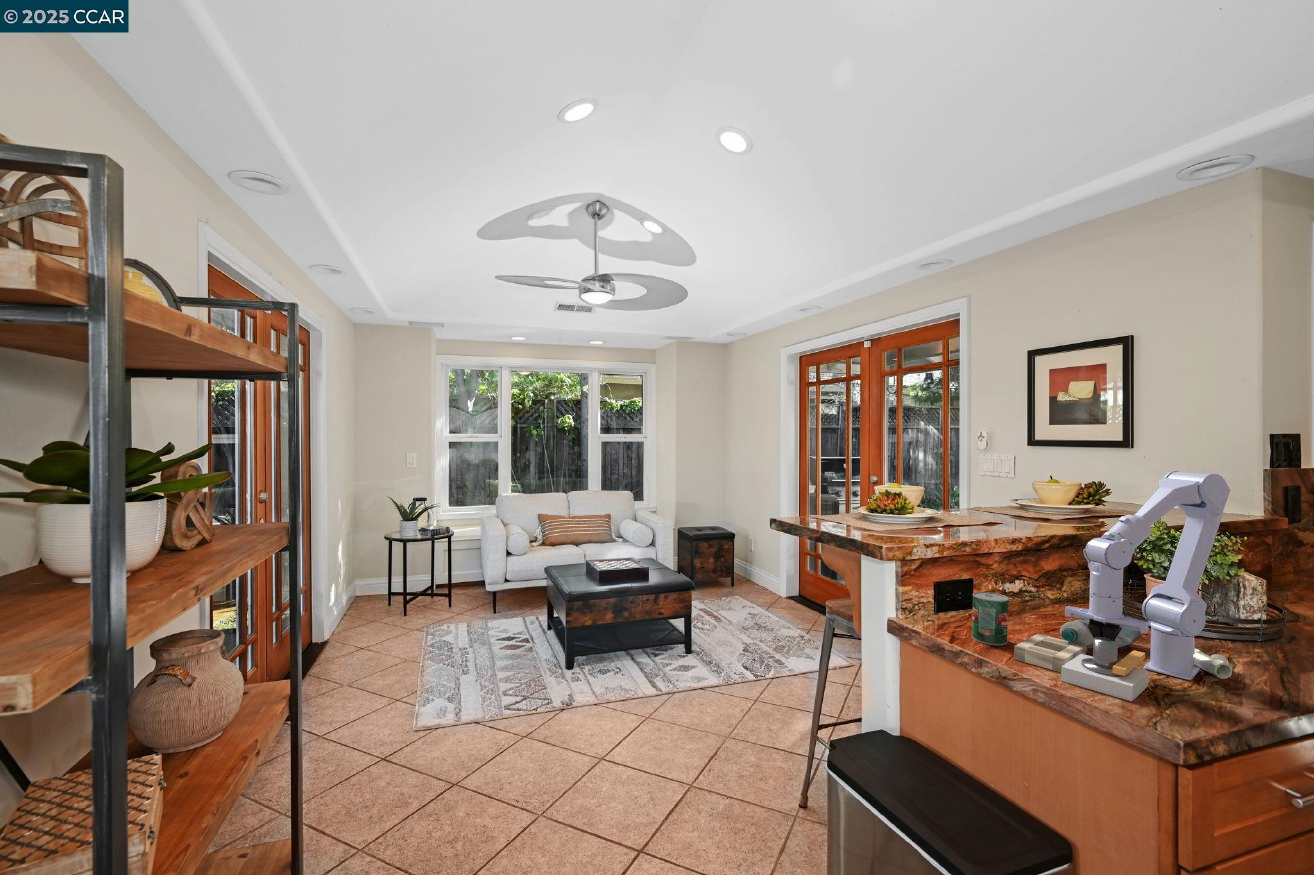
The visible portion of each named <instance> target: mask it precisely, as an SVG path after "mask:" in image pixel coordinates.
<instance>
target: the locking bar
mask: <svg viewBox="0 0 1314 875" xmlns="http://www.w3.org/2000/svg"><path fill="white" fill-rule="evenodd" d="M1145 659H1146V652H1144V651H1143V652H1142V651H1137V650H1135V649H1134V650H1133V651H1131V652H1130V653H1128V654H1127V655H1125V657H1123V658H1122V659H1120V661H1117V664H1116V665H1114V666H1113V673H1116V674H1119V675H1123V676H1125V675H1126V674H1128V673H1129V672H1130V671H1131V670H1132V669H1134V668H1137V666H1139V664H1141V663H1142V662H1143V661H1144V660H1145Z"/></svg>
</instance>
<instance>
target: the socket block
mask: <svg viewBox="0 0 1314 875" xmlns="http://www.w3.org/2000/svg"><path fill="white" fill-rule="evenodd" d="M1085 658H1093V655H1092V656H1091V655H1087V654H1086V655H1084V654H1080V655H1078V656H1077V657H1075V658H1074V659H1072V660H1071V661H1069V662H1068V663H1066V664H1065V665H1063V666H1062V667H1061V672H1060V674H1061V675H1060V676H1061V677H1060V681H1061V682H1064V683H1067V684H1069V685H1075V686H1078V687H1080V688H1084V689H1088V690H1090V691H1091V690H1092V691H1095V692H1098V693H1102V694H1105V695H1109V696H1112V697H1115V698H1119V699H1122V700H1125V701H1129V702H1133V701H1134V700H1135V699H1136V698H1138V696H1139V695H1141V693H1142V692H1143V691H1145V689H1147V687H1148V686H1149V676H1150V675H1149V673H1150V670H1147V669H1145V670H1144V669H1141V668H1139V667H1135V668H1134V669H1132V670H1131V671H1130V672H1129V675H1127V676H1111V675H1105V674H1101V673H1097V672H1094V671H1091V670H1089V669H1087V668H1085V667H1083V666H1082V664H1081V661H1082V659H1085Z"/></svg>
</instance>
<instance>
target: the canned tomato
mask: <svg viewBox="0 0 1314 875" xmlns="http://www.w3.org/2000/svg"><path fill="white" fill-rule="evenodd" d="M1009 600H1010V599H1009V597H1008V596H1005V595H1003V594H1000V593H995V592H988V591H976V592H973V593H972V623H971V638H972V639H973V640H974V641H976V642H978V643H981V644H984V645H990V646H1005V645H1007V644H1008V643H1009V642H1008V636H1009V635H1008V633H1009Z"/></svg>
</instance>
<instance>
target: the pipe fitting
mask: <svg viewBox="0 0 1314 875" xmlns="http://www.w3.org/2000/svg"><path fill="white" fill-rule="evenodd" d="M1194 667H1198V668H1200V670H1201V669H1202V670H1203V671H1205V672H1207V673H1209V674H1211V675H1213V676H1214V677H1217V679H1222V680H1226V679H1228V678H1230V677H1232V674H1233V667H1232V666H1231V665H1230V662H1229V660H1228V659H1227V658H1226V656H1224V655H1222V654H1215V653H1214V654H1211V655H1208V654H1206V653H1205V652H1203V651H1201V650H1200V649H1198V648H1195V658H1194Z"/></svg>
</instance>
